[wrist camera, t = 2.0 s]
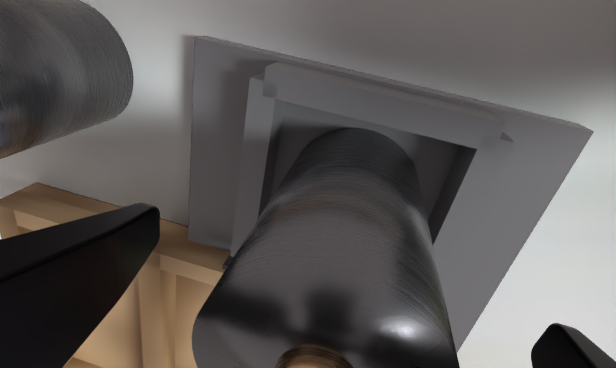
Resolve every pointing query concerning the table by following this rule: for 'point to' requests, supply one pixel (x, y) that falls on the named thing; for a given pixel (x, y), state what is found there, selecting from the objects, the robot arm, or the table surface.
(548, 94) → the table surface
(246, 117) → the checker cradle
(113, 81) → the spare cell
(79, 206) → the trough board
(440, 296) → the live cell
